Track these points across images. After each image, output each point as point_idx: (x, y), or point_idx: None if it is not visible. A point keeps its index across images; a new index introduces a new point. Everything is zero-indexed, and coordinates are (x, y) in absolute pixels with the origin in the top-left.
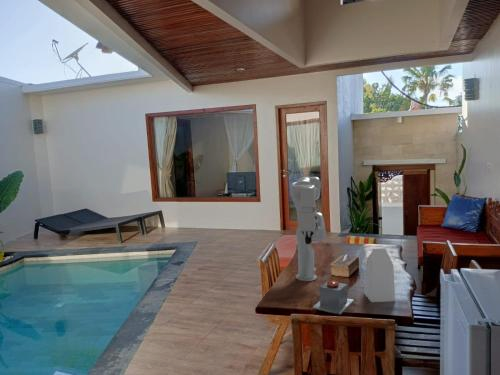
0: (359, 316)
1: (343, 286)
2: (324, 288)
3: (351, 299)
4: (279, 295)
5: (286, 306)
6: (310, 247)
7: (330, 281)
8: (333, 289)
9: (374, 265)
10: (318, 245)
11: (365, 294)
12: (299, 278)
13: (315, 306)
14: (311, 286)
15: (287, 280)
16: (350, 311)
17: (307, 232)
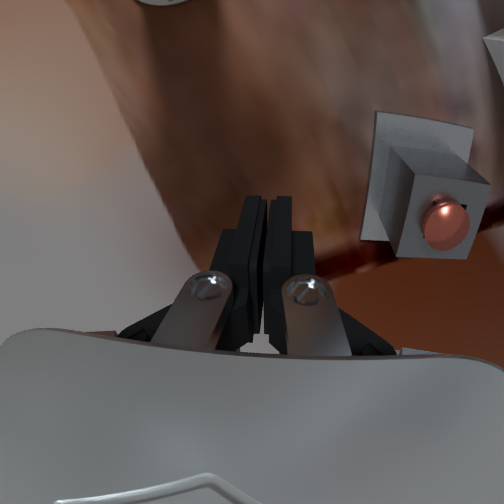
0: (487, 227)
1: (480, 215)
2: (413, 255)
3: (467, 130)
4: (196, 192)
5: None
6: None
7: (437, 222)
8: (448, 258)
9: None
10: None
11: (491, 53)
12: (158, 3)
13: (368, 236)
14: (253, 33)
15: (118, 39)
16: None
17: (213, 340)
